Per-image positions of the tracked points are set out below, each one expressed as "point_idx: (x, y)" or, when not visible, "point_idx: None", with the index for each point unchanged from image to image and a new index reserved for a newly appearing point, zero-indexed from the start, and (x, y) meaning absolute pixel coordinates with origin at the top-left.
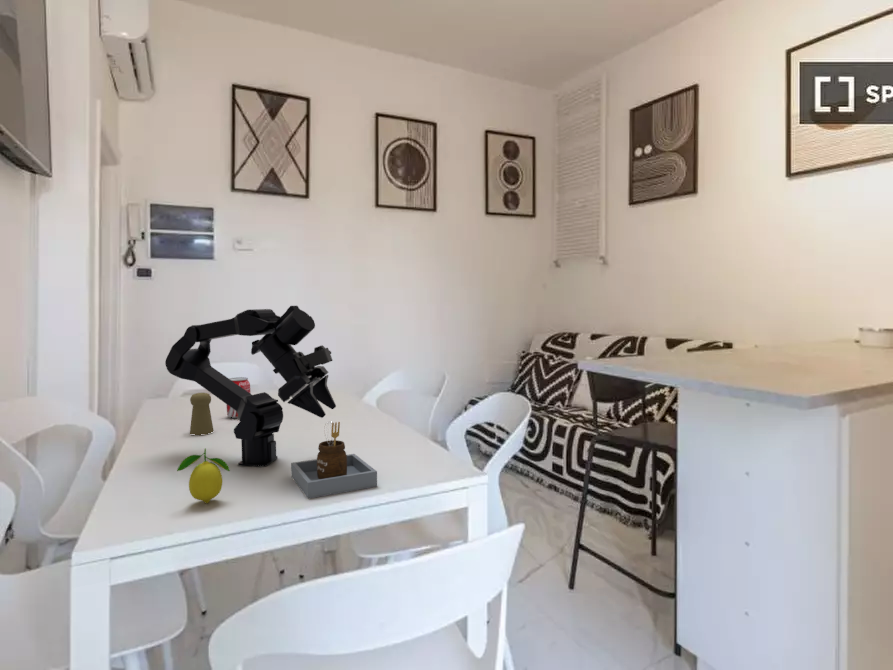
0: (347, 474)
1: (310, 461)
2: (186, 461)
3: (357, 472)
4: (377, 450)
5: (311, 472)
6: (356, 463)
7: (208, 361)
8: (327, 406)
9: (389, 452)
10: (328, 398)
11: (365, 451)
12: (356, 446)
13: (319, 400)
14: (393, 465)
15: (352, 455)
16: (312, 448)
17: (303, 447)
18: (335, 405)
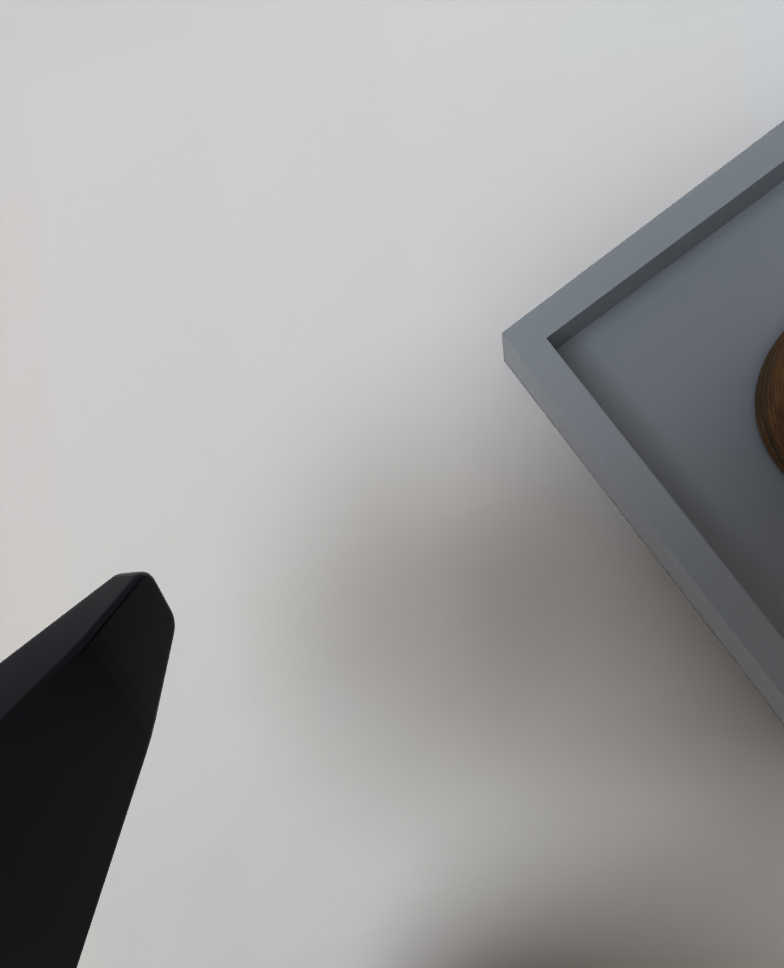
0: (773, 316)
1: (778, 634)
2: None
3: (716, 258)
4: (107, 325)
5: (772, 606)
6: (636, 280)
7: None
8: (153, 720)
9: (144, 228)
10: (46, 748)
11: (137, 402)
12: (29, 505)
13: (79, 934)
14: (427, 106)
15: (557, 329)
16: None
17: None
18: (129, 578)
